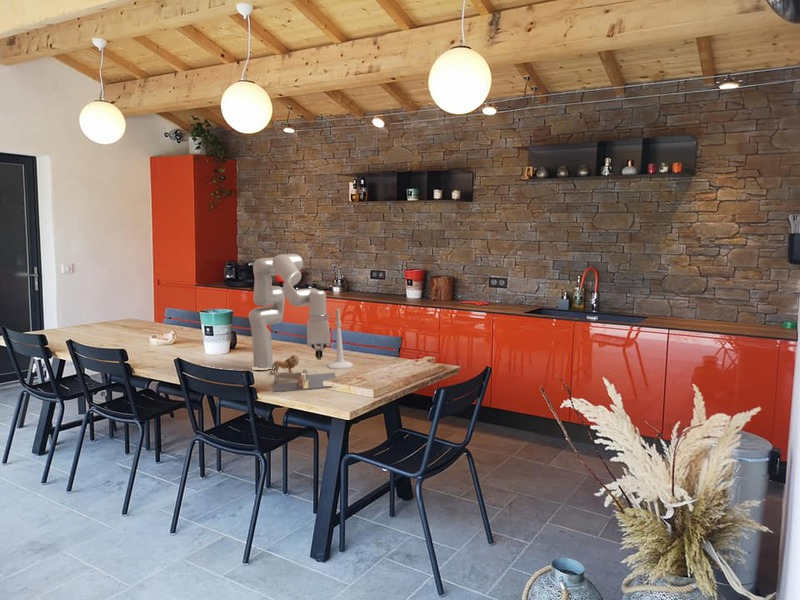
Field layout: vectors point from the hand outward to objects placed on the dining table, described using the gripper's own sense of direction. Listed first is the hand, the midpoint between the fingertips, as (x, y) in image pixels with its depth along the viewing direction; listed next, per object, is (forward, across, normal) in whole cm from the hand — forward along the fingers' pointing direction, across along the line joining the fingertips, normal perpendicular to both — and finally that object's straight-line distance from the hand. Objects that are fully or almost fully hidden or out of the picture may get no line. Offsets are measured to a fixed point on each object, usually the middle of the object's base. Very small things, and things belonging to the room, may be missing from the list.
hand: (319, 358), depth 259 cm
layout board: (+12, +6, -7) cm, 16 cm away
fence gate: (+11, +8, 0) cm, 14 cm away
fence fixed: (+12, +13, -8) cm, 19 cm away
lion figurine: (+14, +16, -28) cm, 35 cm away
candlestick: (+13, -12, -36) cm, 40 cm away
